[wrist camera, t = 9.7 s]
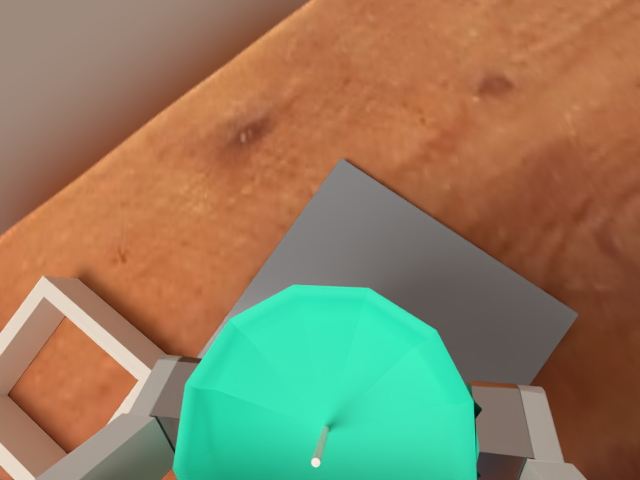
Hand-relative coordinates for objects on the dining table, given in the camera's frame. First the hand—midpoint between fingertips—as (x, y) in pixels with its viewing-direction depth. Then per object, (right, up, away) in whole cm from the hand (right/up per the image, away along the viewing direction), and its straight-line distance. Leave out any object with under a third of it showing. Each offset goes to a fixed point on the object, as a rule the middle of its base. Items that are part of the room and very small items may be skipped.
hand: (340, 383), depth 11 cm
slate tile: (+3, -3, +19) cm, 20 cm away
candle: (+1, -2, +9) cm, 9 cm away
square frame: (-18, -7, +22) cm, 29 cm away
